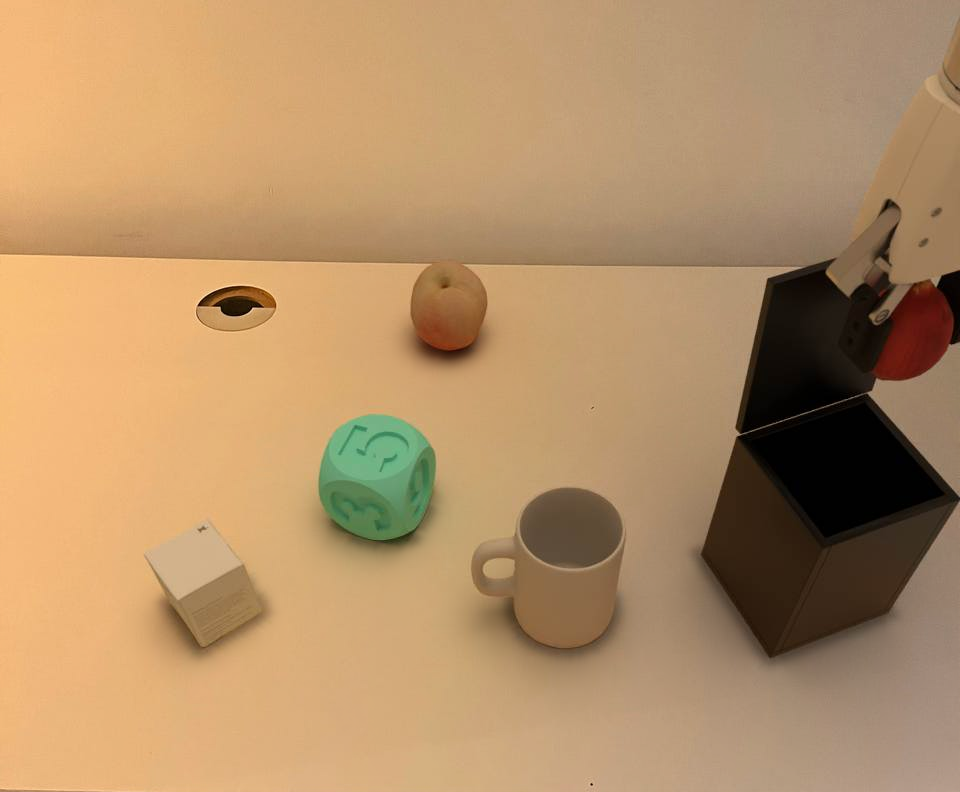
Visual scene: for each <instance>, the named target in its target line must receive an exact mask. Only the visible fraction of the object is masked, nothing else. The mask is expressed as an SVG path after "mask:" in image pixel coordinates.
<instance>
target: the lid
mask: <svg viewBox="0 0 960 792" xmlns="http://www.w3.org/2000/svg"><path fill="white" fill-rule="evenodd" d="M838 257H839V256H838ZM838 257H833V258H830V259H827V260H824V261H820V262H818V263H814V264H810V265H807V266H803V267H800V268H797V269H794V270H790V271H787V272H783V273H780V274H777V275H774V276H771V277H767V279H766V282H765V286H764V287H765V288H764V291H763V296H762V300H761V306H760V309H759V310H760V311H759V314H758V320H757V323H756V328H755V333H754V338H753V342H752V347H751V353H750V358H749V361H748V367H747V371H746V376H745V380H744V384H743V390H742V394H741V399H740V402H739V408H738V412H737V417H736V422H735V426H734V429H735V430H736V432H737V433H738V434H739V435H742V434H746V433H748V432H751V431H754V430H757V429H760V428H763V427H766V426H769V425H772V424H775V423H778V422H781V421H784V420H787V419H790V418H793V417H796V416H799V415H802V414H805V413H808V412H811V411H814V410H817V409H821V408H824V407H827V406H830V405H833V404H836V403H839V402H842V401H845V400H848V399H851V398H854V397H857V396H860V395H863V394H866V393H870V392H873V389H874V387H875V384H876V381H877V379H878V378H876V377H875V376H874V374H873V373H872V372H868V373H862V372H861V371H860V370H859V369H858V368H857V367H856V365H855V364H854V363H853V362H852V361H851V360H850V359H849V358H848V357H847V355H846V354H845V353H844V352H843V351H842V350H841V349H840V347H839V345H838V341H839V338H840V335H841V333H842V330H843V327H844V325H845V322H846V320H847V317H848V314H849V312H850V309H851V306H852V304H853V302H852V301H851V300H850V299H849V298H848V297H847V296H846V295H845V294H844V293H843V292H842V291H841V290H840V289H839V288H838V287H837V286H836V285H835V284H834V283H833V282H832V281H831V280H830V279H829V278H828V276H827V275H826V270H827V268H828V267H829V266H830V265H831V264H832V263H833V262H834V261H835V260H836V259H837V258H838ZM890 283H891V282H890V281H889V277H888V276H887V275H886V274H885V273H883V274H882V275H881V277H880V278H879V280H878V281H877V283H876V284H875V285H874V287H873V288H872V289H873V290H874V291H875V292H876V293H877V294H879V293H880V292H882V291H883V290H885V289H887V287H888V286H889V285H890Z"/></svg>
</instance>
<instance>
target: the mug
mask: <svg viewBox="0 0 960 792" xmlns="http://www.w3.org/2000/svg"><path fill="white" fill-rule="evenodd" d="M626 527H627V526H626V522H625V518H624V516H623V514H622V512H621V511H620V509H619V507H618V506H617V505H616V504H615V503H614V502H613V501H612V499H610V498H609V497H607V496H606V495H604V494H602V493H600V492H599V491H596V490H593V489H590V488H588V487H583V486H576V485H564V486H562V485H561V486H556V487H552V488H549V489H546V490H543V491H540V492H539V493H537V494H536V495H534V496H533V497H531V498H530V499H529V500H528V501H527V502H526V503H525V504H524V505H523V506H522V508H521V509H520V512H519V513H518V516H517V519H516V524H515V531H514V534H513V535H512V536H508V537H502V538H493V539H489V540H486V541H484V542H481V543H480V544H479V545H478V546H477V547H476V549H475V550H474V552H473V555H472V558H471V565H470V572H471V579H472V582H473V585H474V586H475V588H476V590H477V591H478V592H479V593H480V594H482V595H483V596H487V597H492V598H493V597H494V598H497V597H498V598H513V612H514V615H515V618H516V620H517V622H518V625H519V626H520V627H521V629H522V630H523V631H524V633H526V634H527V635H528V636H529V637H530V638H531V639H533V640H534V641H536V642H538V643H539V644H542V645H545V646H548V647H552V648H558V649H573V648H578V647H582V646H585V645H588V644H590V643H591V642H593V641H595V640H596V639H598V638H599V637H600V636H602V634H603V633H604V632H605V631H606V629H607V628H608V627H609V625H610V623H611V621H612V618H613V614H614V611H615V603H616V596H617V591H618V586H619V585H618V584H619V579H620V573H621V568H622V561H623V557H624V551H625V545H626V539H627V528H626ZM495 559H496V560H497V559H508V560H513V561H514V570H513V574H512V575H510V576H508V577H503V578H494V577H493V578H492V577H489V576H487V575H486V574H485V572H484V566H485V564H486V563H487V562H489V561H491V560H495Z"/></svg>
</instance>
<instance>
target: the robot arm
mask: <svg viewBox="0 0 960 792" xmlns="http://www.w3.org/2000/svg"><path fill="white" fill-rule="evenodd" d="M938 70H939V71H938V73H935V74H933V75H930V76H928V77H926V78H925V79H924V81H923V83H921V84H922V85H921V86H920V87H919V89H918V91H917V93H916V94H915V95H914V97H913V98H912V100H911V102H910V104H909V105H908V108H907V109H906V111H905V113H904V114H903V116H902V117H901V119H900V121H899V123H898V125H897V127H896V129H895V131H894V133H893V135H892V137H891V139H890V141H889V143H888V145H887V147H886V148H885V151H884V153H883V156H882V158H881V160H880V162H879V164H878V167H877V169H876V171H875V174H874V176H873V178H872V180H871V183H870V185H869V187H868V190H867V192H866V194H865V197H864V199H863V202H862V204H861V207H860V210H859V212H858V214H857V216H856V217H857V218H856V220H855V224H854V225H853V229H852V233H851V238H850V245H849V246H848V247H846V248H845V249H844V251H843V252H842V253H840V255H838V258H837V257H836V258H837V259H836V260H835V261H834V262H833V263H832V264H831V265H830V266H829V267H828V268H827V270H826V275H827V276H828V278H829V279H830V280H831V281H832V282H833V283H834V284H835V285H836V286H837V287H838V288H839V289H840V290H841V291H842V292H843V293H844V294H845V295H846V296H847V297H848V298H849V299H850V300H851V301H852V302H853V304H852V306H851V309H850V312H849V314H848V317H847V320H846V322H845V325H844V327H843V330H842V333H841V335H840V338H839V341H838V345H839V347H840V349H841V350H842V351H843V352H844V353H845V354H846V355H847V357H848V358H849V359H850V360H851V361H852V362H853V363H854V364H855V365H856V367H857V368H858V369H859V370H860V371H861V372H862V373H868V372H871V371H873V369H874V368H875V366H876V364H877V362H878V360H879V357H880V355H881V353H882V350H883V348H884V346H885V344H886V341H887V339H888V337H889V334H890V332H891V330H892V328H893V324H894V323H893V321H892V320H891V318H890V317H889V316H890V315H891V313H892V312H893V311H894V309H895V308H896V307H897V305H898V304H899V303H900V301H901V300H902V298H903V297H904V296H905V294H906V293H907V292H908V290H909V289H910V288H911V286H912V285H913V284H914V283H916V282H920V281H924V280H928V279H934V278H938V277H939V280H938V282H937V284H936V285H935V287H937V288H938V289H939V290H940V291H941V292H942V293H943V294H944V295H945V297H946V299H947V301H948V303H949V306H950V308H951V310H952V313H953V317H954V326H953V332H952V337H951V341H950V343H949V346H953V345H956V344H960V16H959V17H958V19H957V22H956V25H955V27H954V31H953V33H952V35H951V38H950V41H949V44H948V47H947V48H946V51H945V54H944V57H943V59H942V63H941V64H940V68H939V69H938ZM883 273H885V274H886V275H887V276H888V277H889V281H890V282H891V283H890V285H889V286H888V287H887V289H886V290H885V292H884V293H883V294H882V296H881V297H879V296H878V294H877V293H876V292H875V291H874V290H873V289H872V288H873V287H874V285H875V284H876V283H877V281H878V280H879V278H880V277H881V275H882V274H883Z"/></svg>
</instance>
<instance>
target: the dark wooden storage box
mask: <svg viewBox="0 0 960 792" xmlns="http://www.w3.org/2000/svg"><path fill="white" fill-rule="evenodd" d="M959 503H960V495H958V493H957V492H956V491H955V490H954V489H953V488H952V486H950V485H949V483H948V482H947V481H946V480H945V478H943V476H941V474H940V473H939V472H938V471H937V470H936V469H935V467H934V466H933V465H932V464H931V463H930V462H929V461H928V460H927V459H926V458H925V456H924V455H923V454H922V453H921V452H920V451H919V449H918V448H917V447H916V446H915V445H914V443H912V442H911V441H910V439H909V438H908V437H907V436H906V435H905V434H904V432H902V430H901V429H900V427H898V426H897V425H896V424H895V422H894V421H893V420H892V419H891V418H890V417H889V416H888V414H887V413H886V412H885V411H884V410H883V409H882V408H881V407H880V405H878V403H877V402H876V401H875V400H874V399H873V398H872V397H871V395H870V394H869V392H867V393H864V394H861V395H858V396H855V397H852V398H849V399H846V400H843V401H840V402H837V403H834V404H831V405H828V406H825V407H822V408H819V409H816V410H813V411H810V412H807V413H804V414H801V415H798V416H795V417H792V418H789V419H786V420H783V421H780V422H777V423H774V424H771V425H768V426H765V427H762V428H759V429H755V430H752V431H749V432H746V433H743V434H739V435H736V436H735V440H734V443H733V446H732V450H731V454H730V457H729V460H728V464H727V466H726V470H725V474H724V477H723V479H722V483H721V487H720V490H719V493H718V496H717V500H716V504H715V507H714V509H713V512H712V517H711V520H710V524H709V527H708V530H707V533H706V537H705V540H704V544H703V547H702V549H701V552H700V556H701V557H702V558H703V560H704V561H705V563H706V565H707V566H708V568H709V569H710V571H711V572H712V574H713V576H715V579H716V580H717V581H718V583H719V584H720V587H722V589H723V590H724V592H725V593H726V595H727V596H728V598H729V599H730V601H731V602H732V603H733V605H734V607H735V609H736V610H737V611H738V613H739V614H740V616H741V617H742V619H743V620H744V622H745V623H746V625H747V626H748V628H749V629H750V631H751V632H752V634H753V636H754V637H755V638H756V640H757V641H758V643H759V644H760V646H761V648H763V650H764V652H765V653H766V655H767V656H768V658H769V659H772V658H774V657H777V656H779V655H782V654H784V653H785V654H786V653H787V652H790V651H792V650H796V649H798V648H800V647H804V646H806V645H808V644H811V643H813V642H816V641H819V640H821V639H824V638H827V637H829V636H832V635H834V634H837V633H840V632H842V631H845V630H848V629H850V628H853V627H856V626H858V625H861V624H863V623H865V622H869V621H871V620H874V619H876V618H878V617H881V616H884V615H887V614H889V613H890V612H891V610H892V608H893V607H894V605H895V604H896V602H897V600H898V599H899V597H900V595H901V594H902V592H903V591H904V590H905V588H906V586H907V585H908V583H909V581H910V580H911V579H912V577H913V575H914V574H915V572H916V571H917V569H918V568H919V566H920V564H922V561H923V559H925V557H926V556H927V553H928V552H929V550H930V548H931V547H932V545H933V544H934V542H935V541H936V539H937V538H938V536H939V535H940V533H941V531H942V530H943V529H944V527H945V525H946V524H947V522H948V520H949V519H950V517H951V516H952V514H953V513H954V511H955V510H956V508H957V507H958V505H959Z"/></svg>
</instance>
